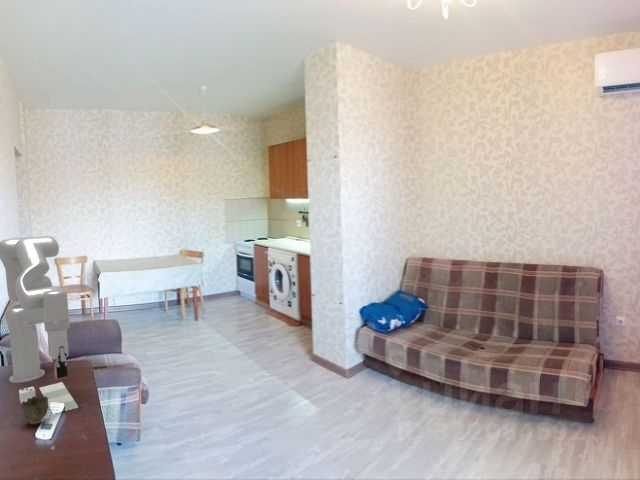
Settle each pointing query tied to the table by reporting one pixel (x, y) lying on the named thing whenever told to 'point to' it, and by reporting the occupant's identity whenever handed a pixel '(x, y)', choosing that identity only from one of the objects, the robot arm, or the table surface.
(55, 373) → the pawn
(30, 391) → the die
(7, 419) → the table surface
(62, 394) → the board
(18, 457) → the table surface
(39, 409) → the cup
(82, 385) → the table surface
